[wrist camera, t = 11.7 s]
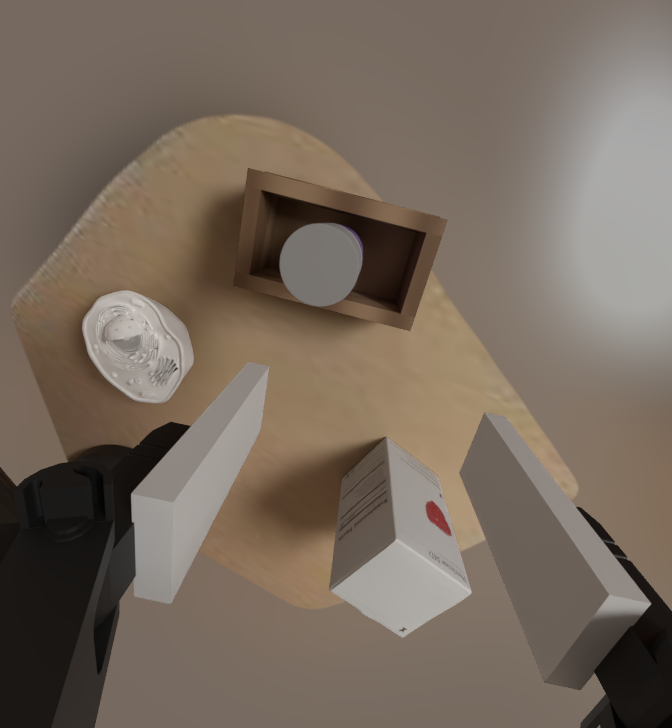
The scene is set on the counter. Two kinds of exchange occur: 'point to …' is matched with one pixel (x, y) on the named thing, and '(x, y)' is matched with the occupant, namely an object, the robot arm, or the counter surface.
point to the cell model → (138, 345)
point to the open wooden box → (365, 216)
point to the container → (321, 263)
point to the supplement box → (396, 542)
